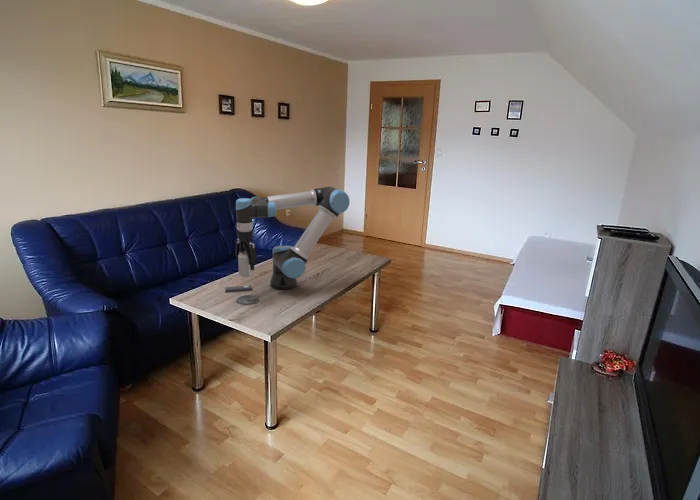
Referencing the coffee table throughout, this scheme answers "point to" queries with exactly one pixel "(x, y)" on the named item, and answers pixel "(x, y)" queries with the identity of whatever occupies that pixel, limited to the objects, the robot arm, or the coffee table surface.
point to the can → (243, 264)
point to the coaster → (247, 299)
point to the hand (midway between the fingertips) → (246, 273)
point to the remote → (238, 289)
